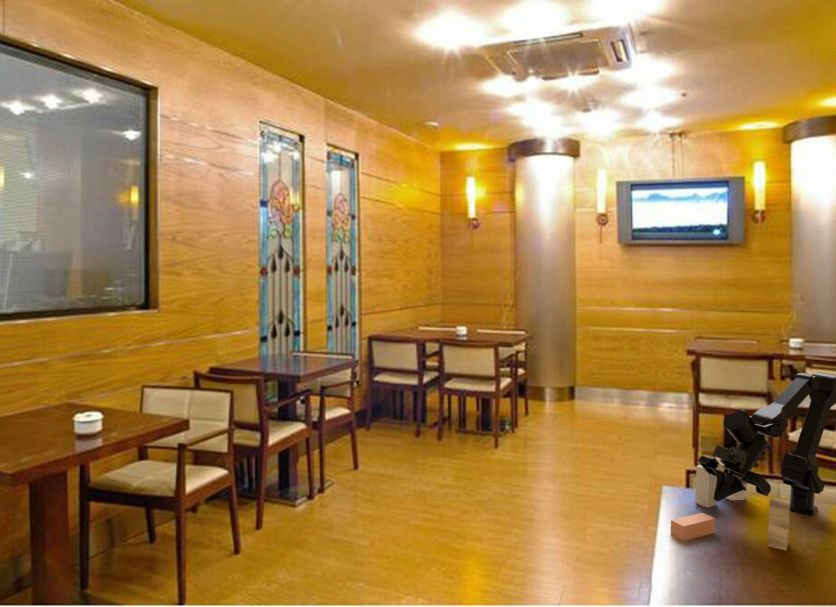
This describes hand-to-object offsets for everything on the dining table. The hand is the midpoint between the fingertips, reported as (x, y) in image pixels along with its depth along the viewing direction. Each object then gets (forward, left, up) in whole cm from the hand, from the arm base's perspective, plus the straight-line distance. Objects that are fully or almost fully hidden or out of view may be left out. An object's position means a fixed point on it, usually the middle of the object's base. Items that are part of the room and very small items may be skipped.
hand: (715, 500), depth 162 cm
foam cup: (-26, -4, -8) cm, 28 cm away
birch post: (-1, +14, -8) cm, 16 cm away
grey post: (-15, -8, -8) cm, 19 cm away
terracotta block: (+1, -1, -6) cm, 6 cm away
